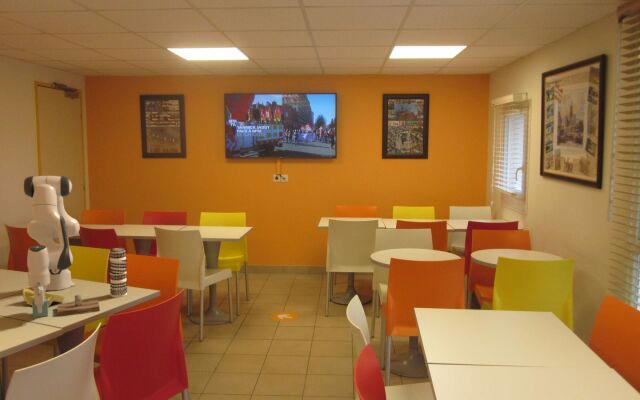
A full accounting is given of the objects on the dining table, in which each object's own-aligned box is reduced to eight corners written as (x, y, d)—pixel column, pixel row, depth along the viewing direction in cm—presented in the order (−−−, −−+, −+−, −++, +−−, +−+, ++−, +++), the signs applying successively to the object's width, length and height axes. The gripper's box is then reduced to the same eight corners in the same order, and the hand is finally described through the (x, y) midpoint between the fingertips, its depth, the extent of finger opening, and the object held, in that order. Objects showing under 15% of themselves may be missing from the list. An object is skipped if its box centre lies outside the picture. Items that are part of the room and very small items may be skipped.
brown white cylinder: (123, 291, 275) (122, 246, 273) (131, 294, 269) (129, 248, 266) (106, 294, 269) (105, 248, 266) (114, 298, 262) (112, 251, 260)
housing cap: (33, 314, 236) (33, 299, 235) (48, 312, 239) (47, 297, 238) (33, 317, 231) (32, 303, 230) (47, 316, 233) (47, 301, 233)
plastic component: (66, 297, 255) (52, 293, 246) (61, 311, 253) (47, 308, 244) (35, 291, 261) (20, 287, 252) (30, 305, 259) (15, 302, 250)
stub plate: (57, 308, 245) (57, 294, 244) (97, 303, 253) (97, 289, 252) (57, 316, 233) (56, 301, 233) (99, 310, 242) (99, 296, 241)
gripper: (46, 285, 225) (47, 315, 227) (47, 275, 243) (48, 302, 245) (30, 286, 222) (31, 317, 224) (32, 276, 241) (33, 304, 242)
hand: (40, 309), depth 234 cm, fingers open, 8 cm apart
